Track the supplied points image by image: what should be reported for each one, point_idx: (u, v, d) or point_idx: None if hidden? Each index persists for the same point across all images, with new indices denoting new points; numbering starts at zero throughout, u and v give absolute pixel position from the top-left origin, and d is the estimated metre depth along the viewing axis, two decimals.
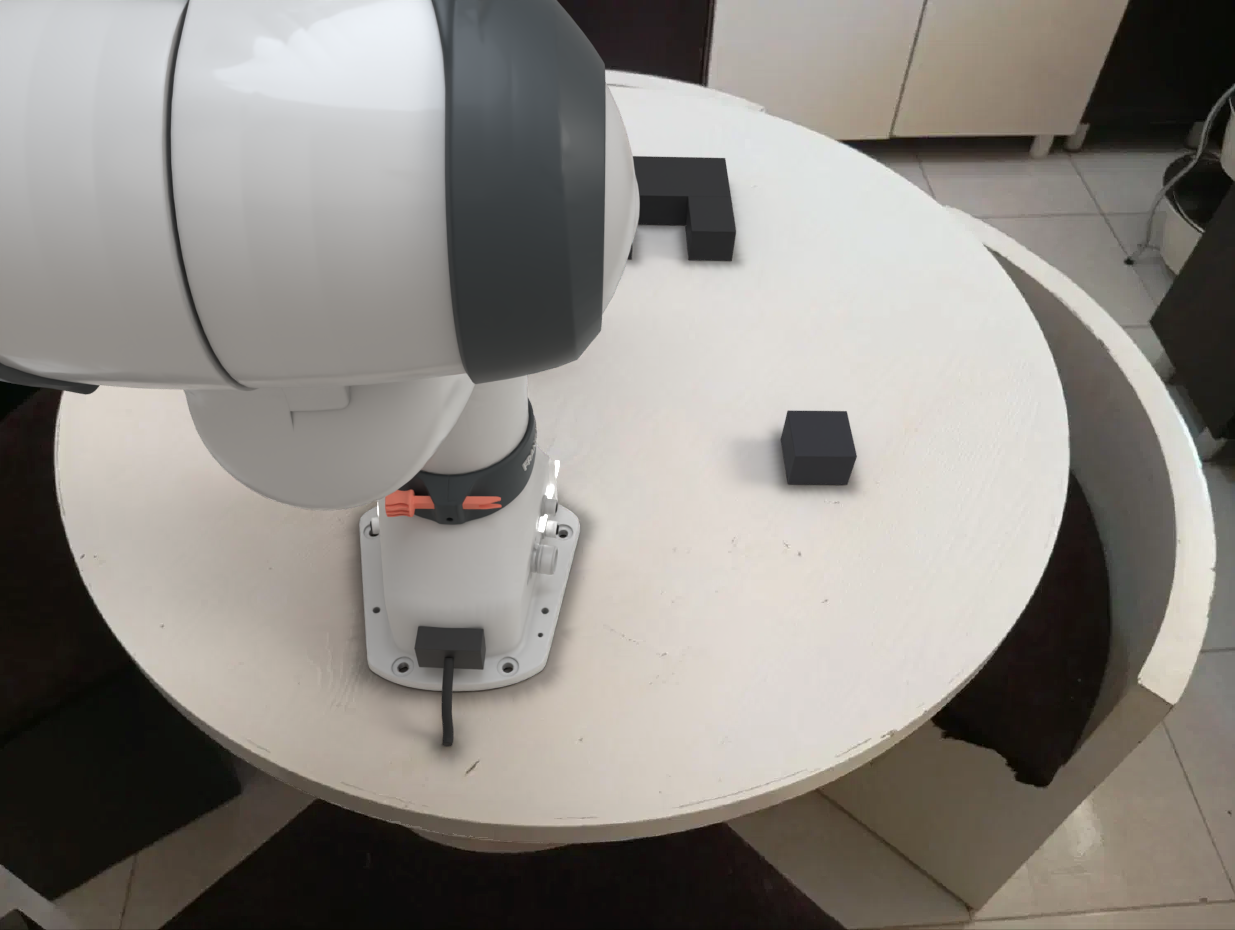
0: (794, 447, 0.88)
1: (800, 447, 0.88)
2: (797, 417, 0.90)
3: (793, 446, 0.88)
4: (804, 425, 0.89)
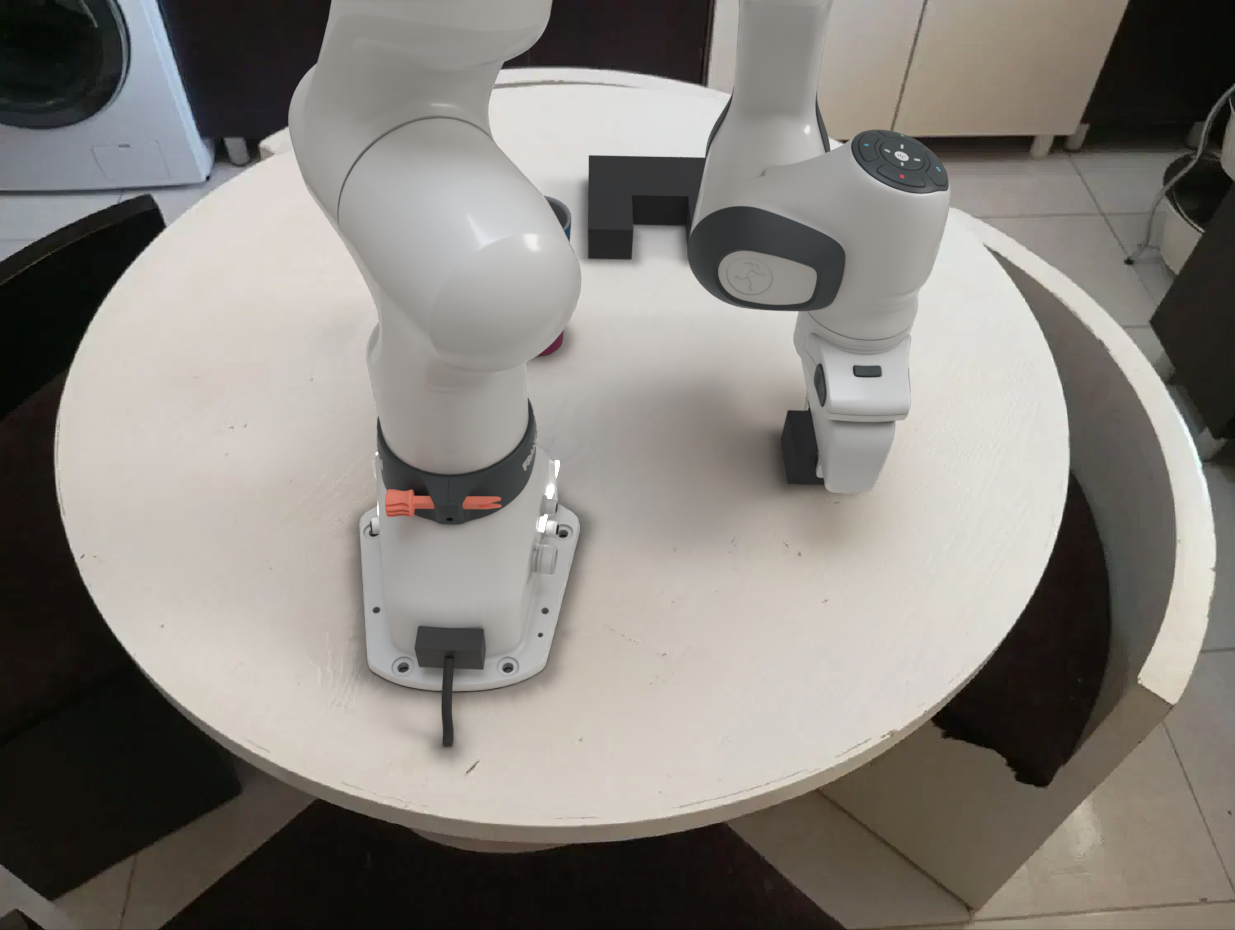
0: (794, 447, 0.88)
1: (800, 446, 0.88)
2: (797, 417, 0.90)
3: (793, 446, 0.88)
4: (804, 424, 0.89)
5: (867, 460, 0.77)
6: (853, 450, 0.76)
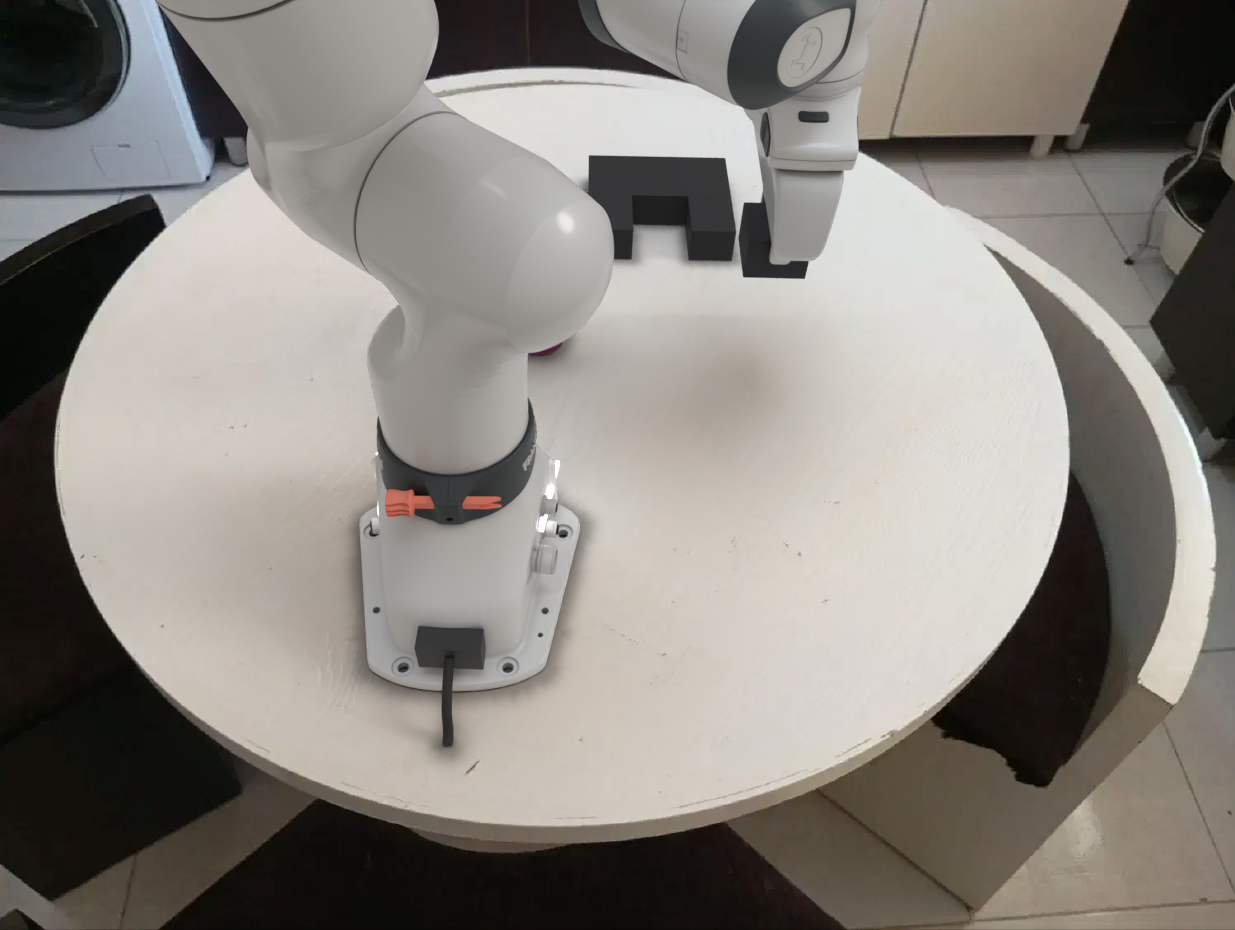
0: (748, 233, 0.85)
1: (754, 233, 0.85)
2: (753, 208, 0.87)
3: (747, 233, 0.85)
4: (760, 215, 0.87)
5: (815, 217, 0.74)
6: (799, 203, 0.73)
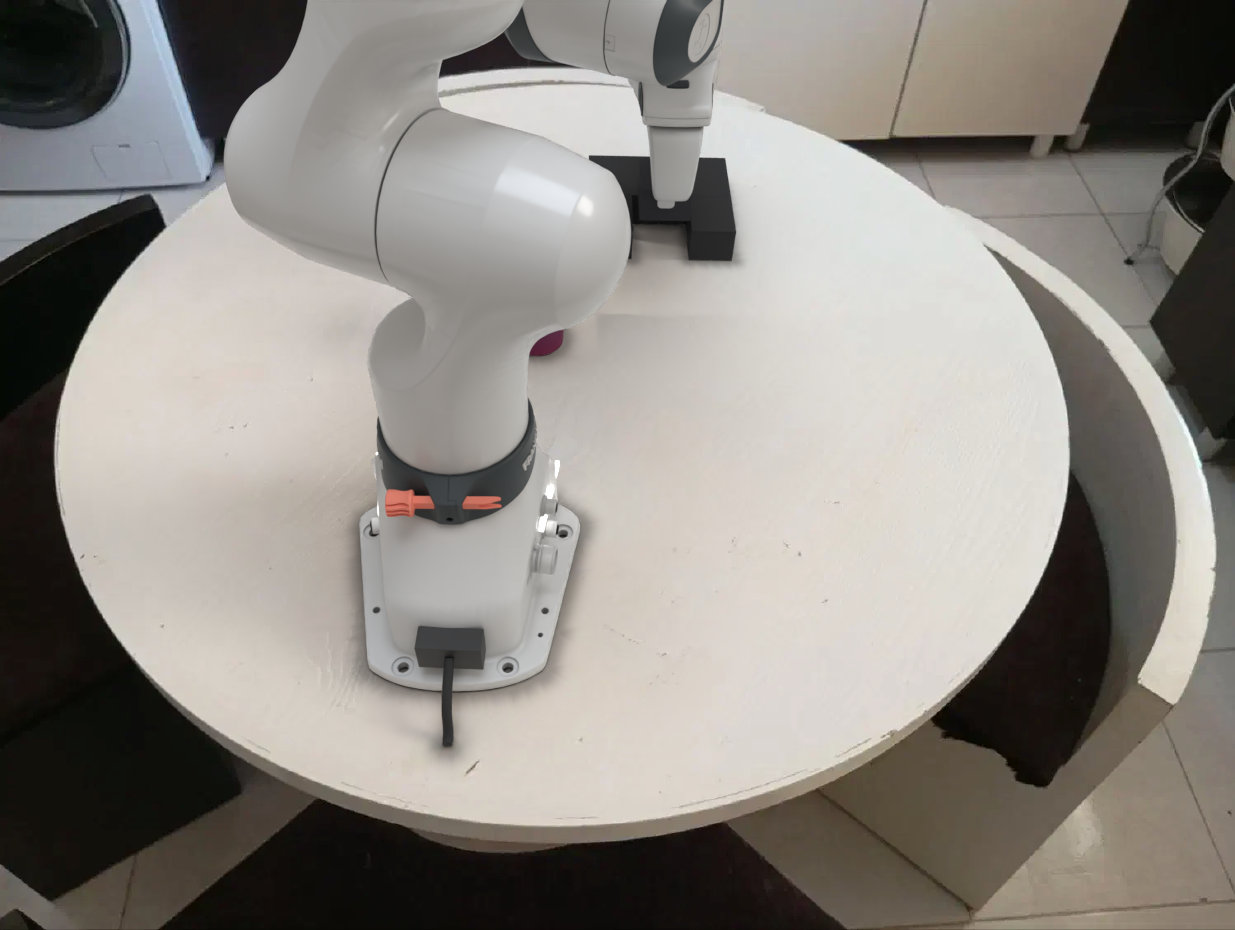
0: (640, 183, 1.04)
1: (646, 183, 1.04)
2: (647, 163, 1.06)
3: (640, 183, 1.04)
4: None
5: (682, 164, 0.93)
6: (669, 153, 0.92)
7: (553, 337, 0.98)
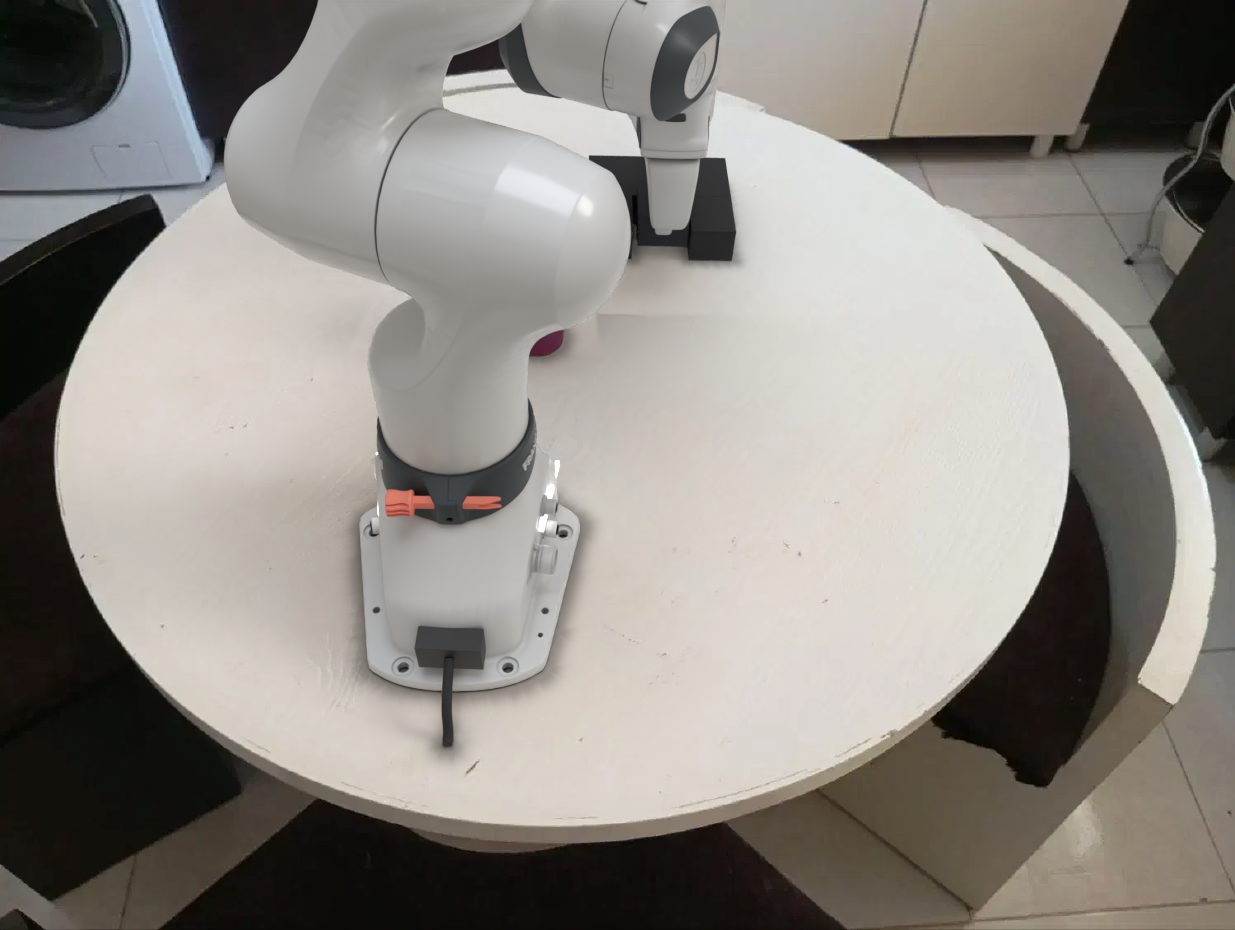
0: (639, 210, 1.07)
1: (644, 210, 1.07)
2: (645, 190, 1.09)
3: (638, 210, 1.07)
4: None
5: (679, 194, 0.96)
6: (666, 184, 0.95)
7: (553, 337, 0.98)
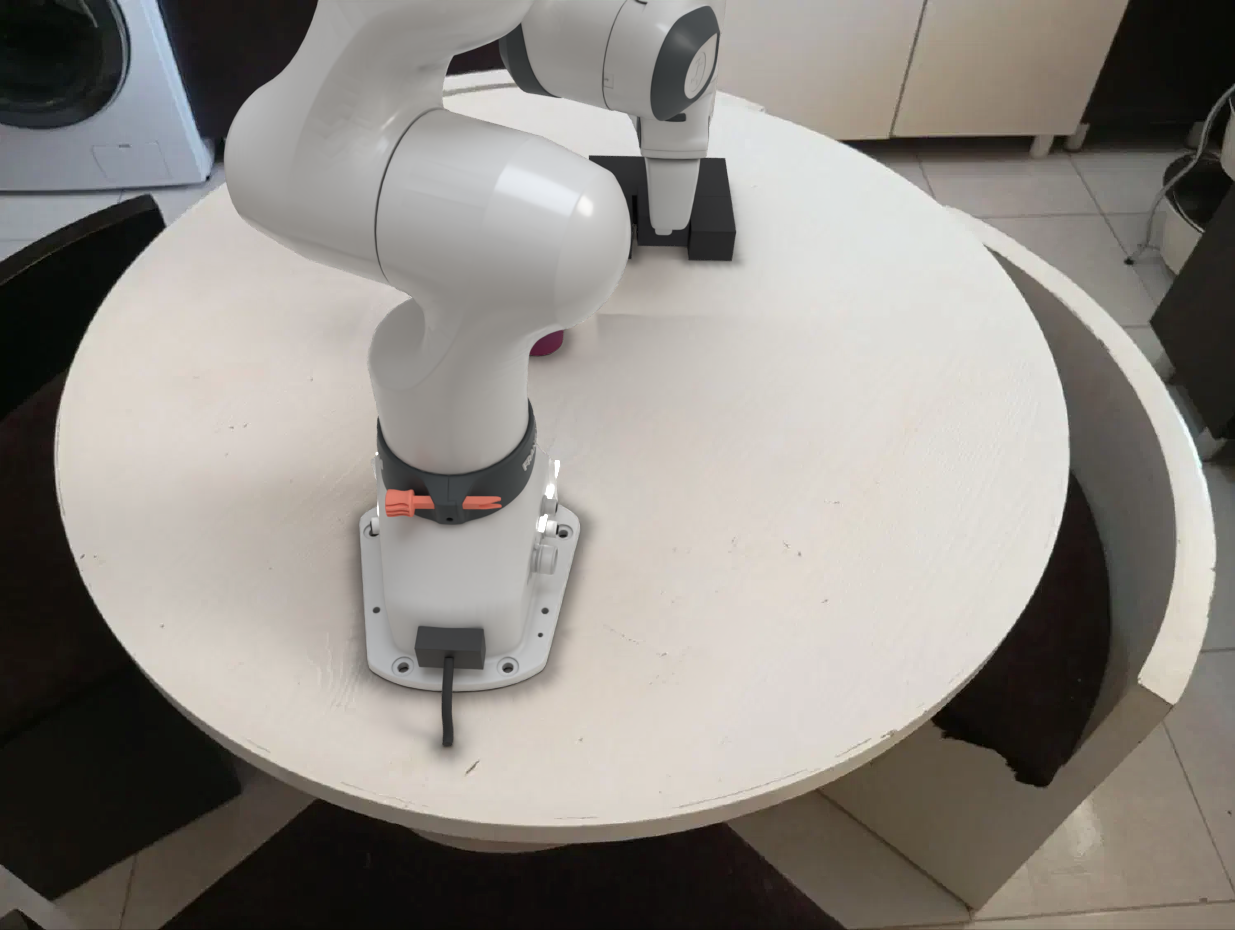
0: (639, 210, 1.07)
1: (644, 210, 1.07)
2: (645, 190, 1.09)
3: (638, 210, 1.07)
4: None
5: (679, 194, 0.96)
6: (666, 184, 0.95)
7: (553, 337, 0.98)
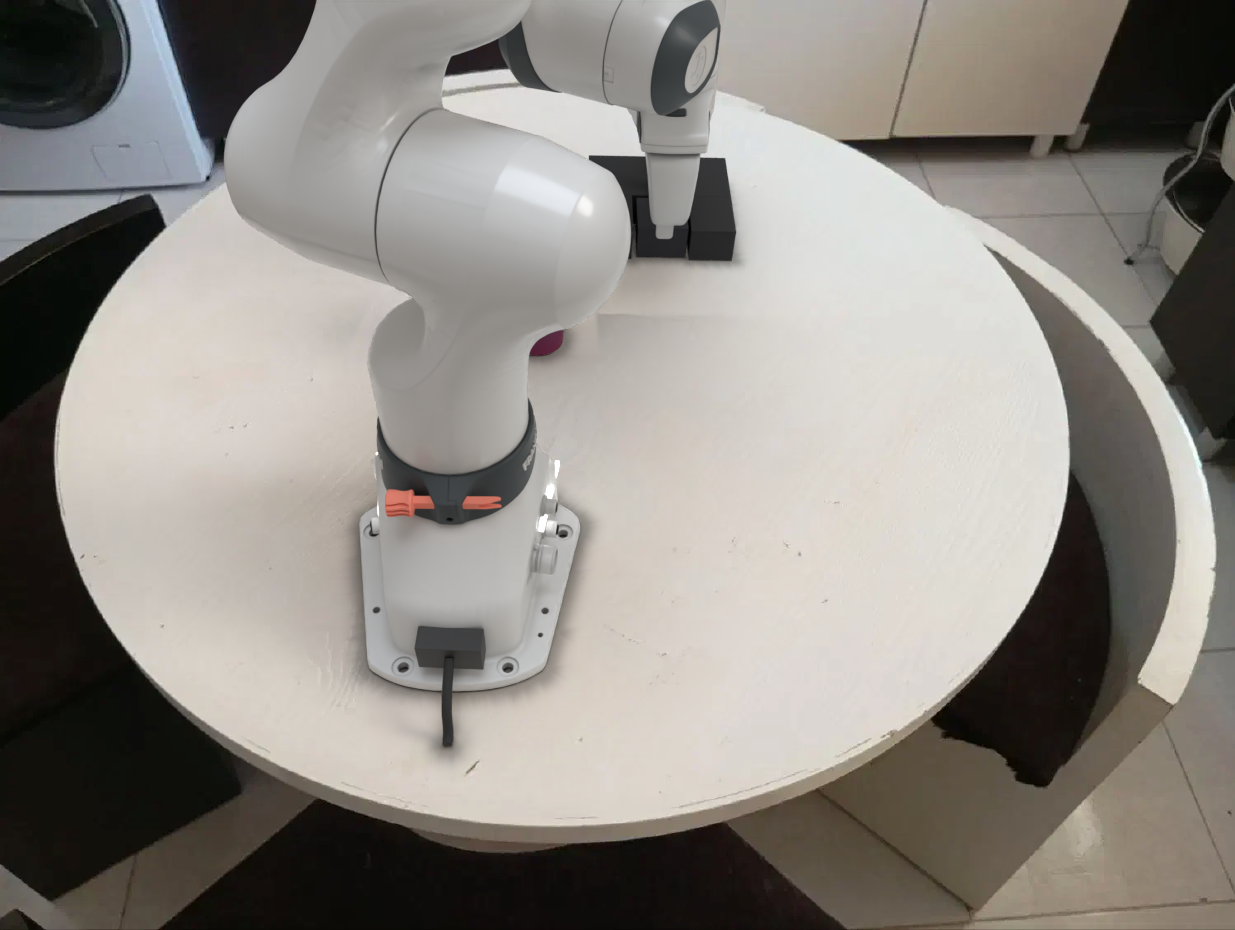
0: (637, 222, 1.08)
1: (643, 222, 1.08)
2: (643, 202, 1.10)
3: (637, 222, 1.08)
4: (648, 207, 1.09)
5: (679, 190, 0.95)
6: (666, 179, 0.95)
7: (553, 337, 0.98)
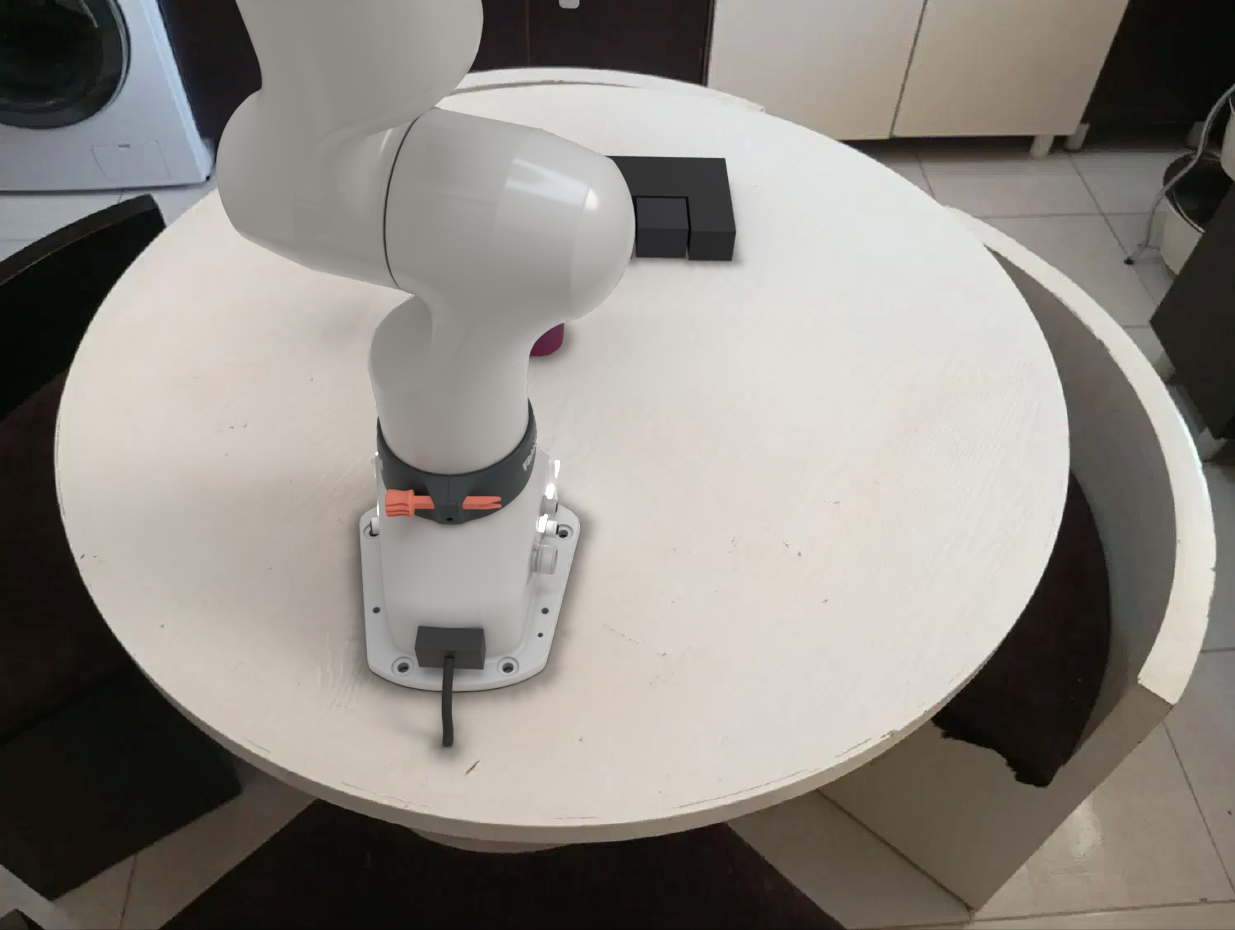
0: (637, 222, 1.08)
1: (643, 222, 1.08)
2: (643, 202, 1.10)
3: (637, 222, 1.08)
4: (648, 207, 1.09)
5: None
6: None
7: (553, 337, 0.98)
